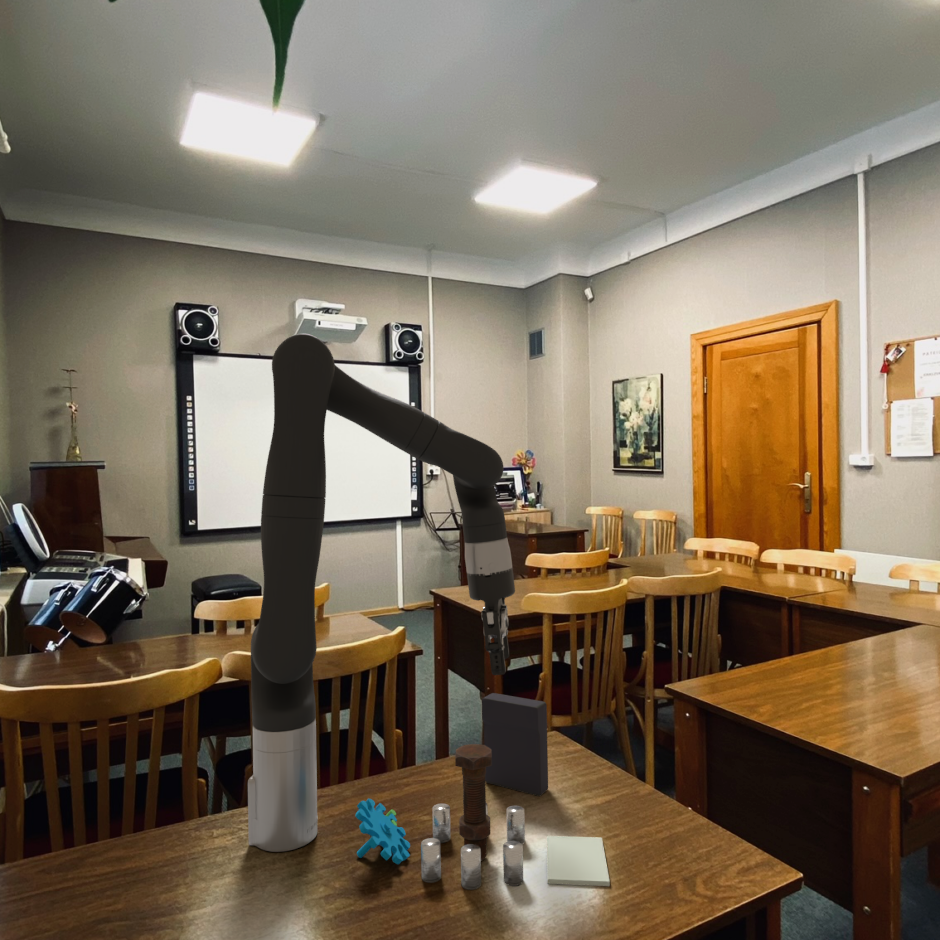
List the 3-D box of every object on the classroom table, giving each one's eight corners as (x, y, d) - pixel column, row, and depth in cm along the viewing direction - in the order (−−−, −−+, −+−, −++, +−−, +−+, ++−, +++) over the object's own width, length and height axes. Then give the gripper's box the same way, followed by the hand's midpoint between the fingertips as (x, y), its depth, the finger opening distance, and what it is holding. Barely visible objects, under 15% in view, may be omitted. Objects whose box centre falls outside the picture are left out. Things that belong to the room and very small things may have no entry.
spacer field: (418, 887, 89) (417, 852, 90) (435, 829, 104) (435, 799, 104) (522, 891, 88) (522, 856, 88) (525, 832, 103) (524, 802, 103)
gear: (402, 868, 91) (353, 808, 93) (371, 900, 91) (323, 839, 93) (422, 837, 102) (377, 784, 104) (394, 865, 102) (350, 812, 104)
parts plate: (547, 883, 90) (547, 879, 90) (546, 839, 101) (546, 835, 101) (609, 886, 89) (609, 881, 89) (601, 841, 100) (601, 837, 100)
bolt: (493, 869, 93) (491, 758, 94) (456, 869, 93) (454, 759, 94) (493, 846, 99) (491, 742, 99) (458, 847, 99) (456, 742, 99)
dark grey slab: (550, 788, 118) (548, 700, 118) (539, 798, 114) (537, 707, 114) (495, 774, 123) (493, 691, 124) (482, 784, 120) (481, 697, 120)
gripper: (471, 563, 119) (482, 655, 120) (460, 577, 105) (473, 682, 105) (514, 558, 119) (525, 651, 119) (509, 572, 104) (521, 678, 104)
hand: (501, 666), depth 112 cm, fingers open, 8 cm apart
